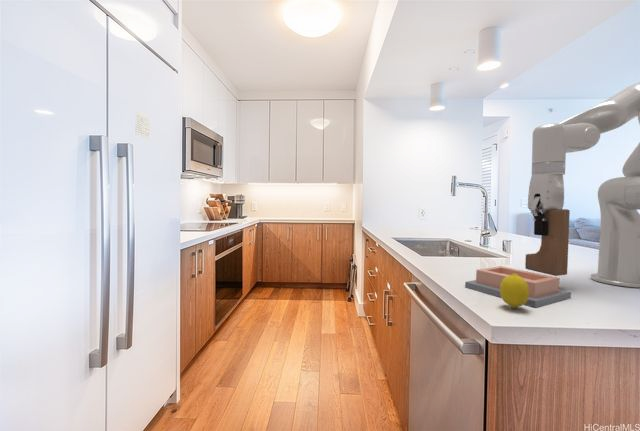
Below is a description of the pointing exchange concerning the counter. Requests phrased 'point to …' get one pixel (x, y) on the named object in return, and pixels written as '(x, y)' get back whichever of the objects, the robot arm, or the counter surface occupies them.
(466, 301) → the counter surface
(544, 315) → the counter surface
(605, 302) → the counter surface
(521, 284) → the lemon
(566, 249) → the wooden block
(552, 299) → the baseplate
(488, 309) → the counter surface
